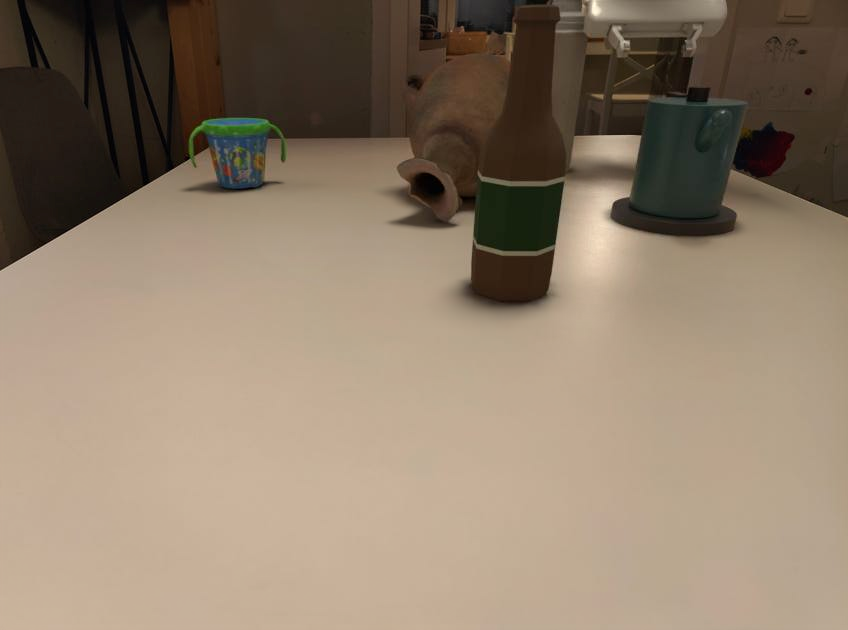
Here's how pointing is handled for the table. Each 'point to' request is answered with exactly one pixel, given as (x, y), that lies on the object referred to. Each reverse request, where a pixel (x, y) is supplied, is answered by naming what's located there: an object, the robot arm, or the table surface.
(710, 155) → the kettle
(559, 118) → the thermos bottle
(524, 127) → the beer bottle
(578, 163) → the table surface
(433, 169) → the jug
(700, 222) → the kettle base
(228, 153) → the snack cup
